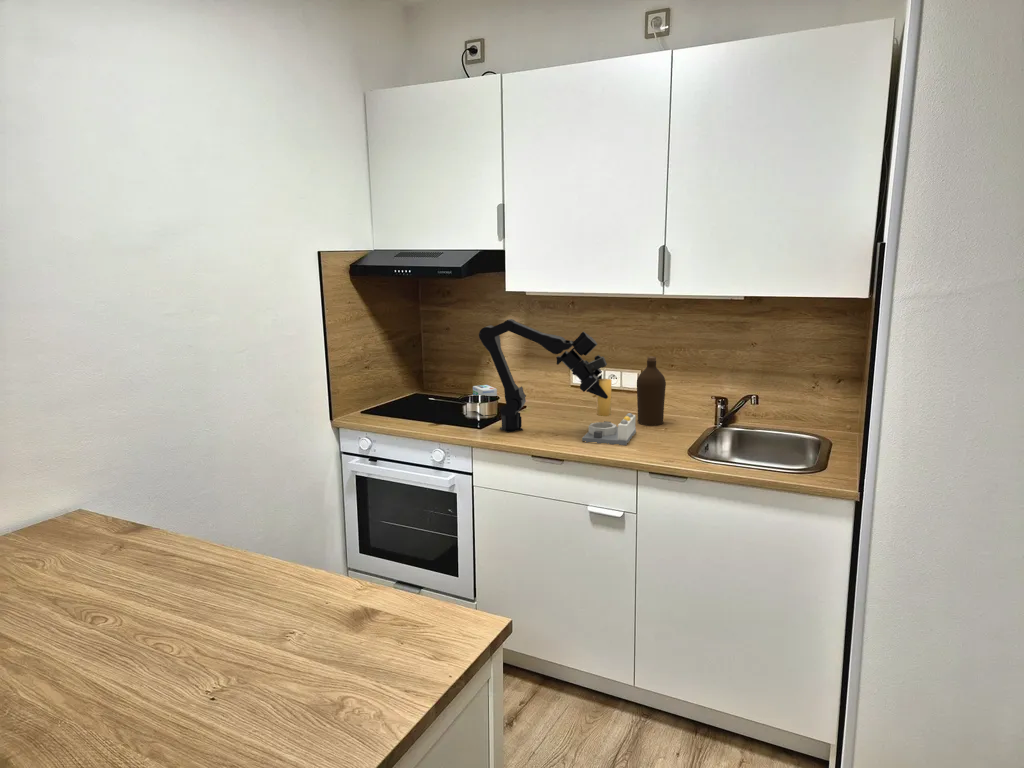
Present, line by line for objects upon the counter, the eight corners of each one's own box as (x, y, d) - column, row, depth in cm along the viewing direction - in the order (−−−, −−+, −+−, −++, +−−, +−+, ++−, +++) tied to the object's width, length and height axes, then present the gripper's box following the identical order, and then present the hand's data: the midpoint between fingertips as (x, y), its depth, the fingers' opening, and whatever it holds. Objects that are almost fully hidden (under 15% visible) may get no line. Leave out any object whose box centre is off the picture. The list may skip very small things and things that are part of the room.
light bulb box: (472, 411, 281) (472, 385, 279) (487, 409, 283) (487, 384, 281) (482, 416, 271) (482, 390, 269) (498, 414, 274) (497, 388, 272)
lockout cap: (598, 416, 238) (598, 381, 235) (595, 413, 243) (596, 378, 240) (612, 416, 238) (612, 380, 236) (609, 412, 243) (610, 378, 240)
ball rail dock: (582, 442, 231) (582, 419, 230) (594, 429, 248) (594, 408, 246) (626, 445, 226) (626, 422, 224) (635, 432, 242) (636, 410, 241)
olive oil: (652, 427, 249) (653, 360, 244) (630, 422, 257) (631, 357, 252) (670, 422, 255) (672, 356, 251) (648, 418, 263) (649, 354, 259)
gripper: (589, 352, 228) (622, 385, 227) (596, 345, 246) (626, 376, 245) (566, 375, 231) (598, 408, 231) (574, 366, 249) (604, 397, 248)
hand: (607, 396), depth 239 cm, fingers closed on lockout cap, 5 cm apart
